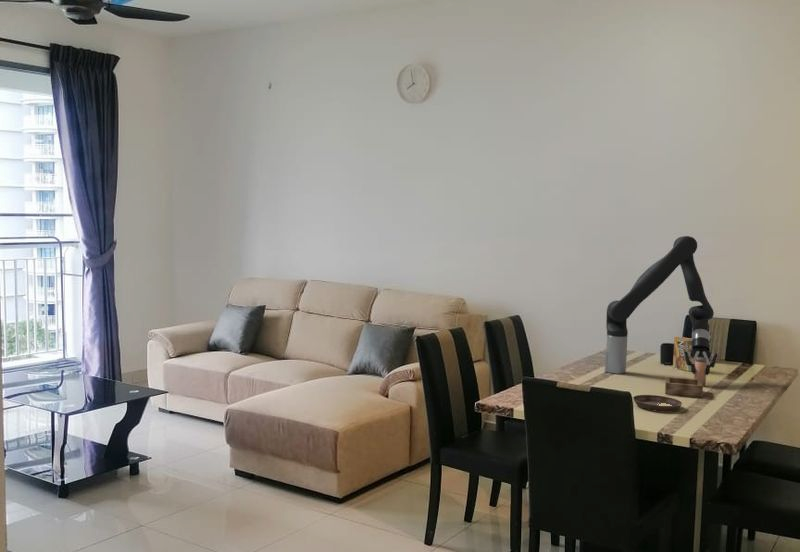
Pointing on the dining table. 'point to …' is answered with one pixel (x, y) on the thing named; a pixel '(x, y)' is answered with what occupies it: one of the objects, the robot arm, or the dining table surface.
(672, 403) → the plant saucer
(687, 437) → the dining table surface
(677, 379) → the bin
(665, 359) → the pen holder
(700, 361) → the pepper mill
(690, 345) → the candy box
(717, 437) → the dining table surface
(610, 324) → the robot arm
